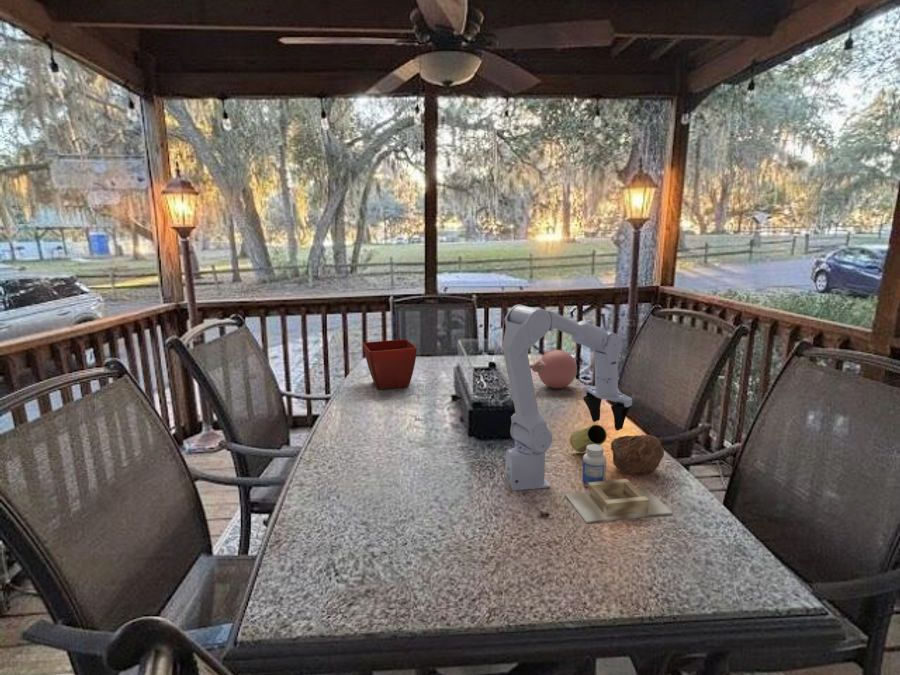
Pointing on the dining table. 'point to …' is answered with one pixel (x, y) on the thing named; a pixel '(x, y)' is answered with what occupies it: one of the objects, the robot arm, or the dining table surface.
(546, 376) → the balloon
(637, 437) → the decorative rock
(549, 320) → the robot arm
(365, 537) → the dining table surface
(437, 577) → the dining table surface
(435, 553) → the dining table surface
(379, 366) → the plant pot
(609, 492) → the socket block
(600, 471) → the pill bottle
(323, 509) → the dining table surface
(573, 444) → the vase
